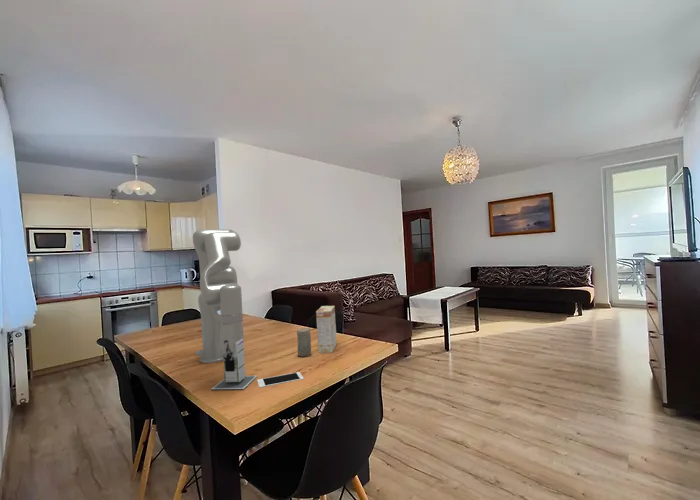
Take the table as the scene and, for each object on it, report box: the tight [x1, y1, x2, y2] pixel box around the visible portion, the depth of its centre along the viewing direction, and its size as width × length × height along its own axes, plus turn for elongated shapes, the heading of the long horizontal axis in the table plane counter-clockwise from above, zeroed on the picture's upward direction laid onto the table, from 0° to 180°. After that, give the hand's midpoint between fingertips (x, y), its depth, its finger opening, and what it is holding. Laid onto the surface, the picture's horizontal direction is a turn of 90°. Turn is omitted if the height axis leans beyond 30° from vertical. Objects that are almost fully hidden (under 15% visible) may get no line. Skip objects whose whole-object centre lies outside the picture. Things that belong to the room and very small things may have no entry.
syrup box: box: [222, 339, 246, 383], centre depth 120 cm, size 6×6×14 cm
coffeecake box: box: [315, 305, 338, 354], centre depth 159 cm, size 15×7×20 cm, turn 174°
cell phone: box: [256, 371, 305, 389], centre depth 121 cm, size 8×16×1 cm, turn 112°
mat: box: [210, 375, 258, 391], centre depth 120 cm, size 12×12×1 cm
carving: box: [296, 327, 312, 358], centre depth 150 cm, size 6×8×12 cm
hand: (234, 367), depth 120 cm, fingers closed on syrup box, 5 cm apart
